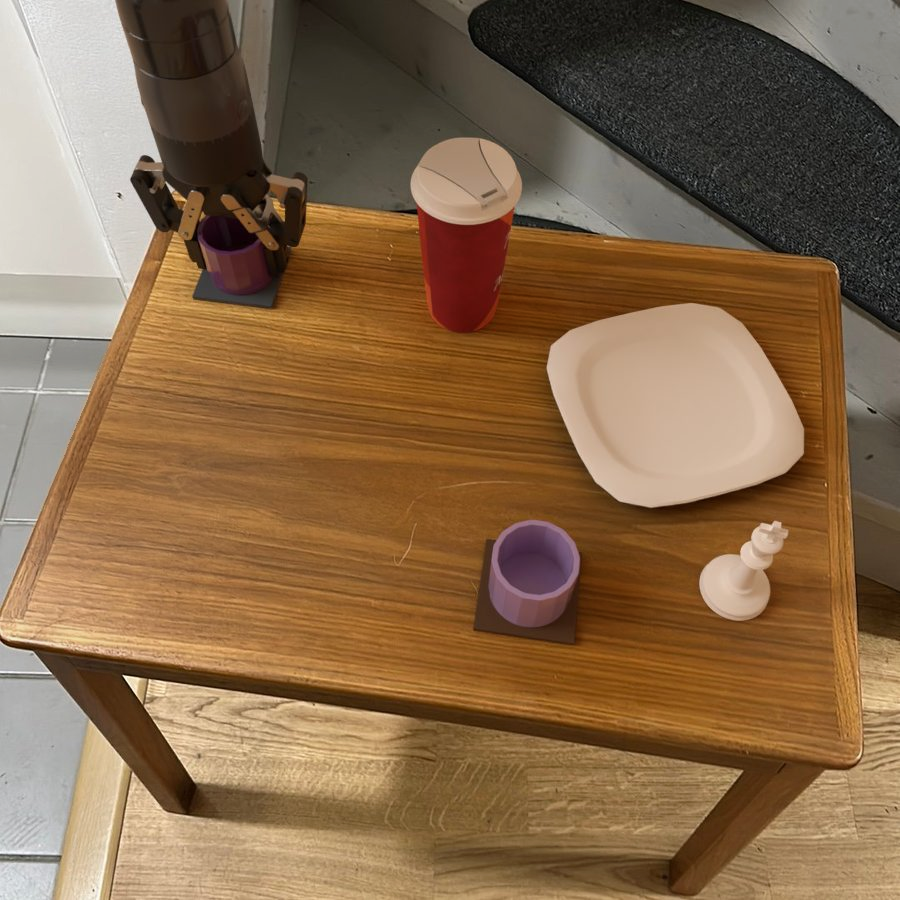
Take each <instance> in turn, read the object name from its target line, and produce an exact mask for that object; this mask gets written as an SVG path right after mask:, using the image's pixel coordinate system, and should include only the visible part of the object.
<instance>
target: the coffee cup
mask: <svg viewBox="0 0 900 900" xmlns="http://www.w3.org/2000/svg"><path fill="white" fill-rule="evenodd" d="M517 168H518V167H517V165H516V163H515V160H514V159H513V157H512V155H511V154H510V153H509V152H508V151H507V150H505V149H504V148H503V147H502V146H501V145H499V144H497V143H495V142H492V141H491V140H489V139H484V138H481V137H480V138H479V137H453V138H449V139H446V140H443V141H441V142H439V143H437V144H435V145H433V146H432V147H430V148H429V149H428V150H426V151H425V153H424V154H423V156H421V158H420V161H419V163H418V164H417V165H416V166H415V168H414V170H413V172H412V174H411V177H410V191H411V195H412V197H413V199H414V201H415V202H416V210H417V221H418V222H417V223H418V231H419V241H420V251H421V261H422V262H421V263H422V271H423V272H422V273H423V280H424V290H425V297H426V304H427V310H428V313H429V315H430V317H431V319H432V320H433V322H435V323H436V325H438V326H439V327H441V328H442V329H445V330H447V331H450V332H452V333H453V332H454V333H472V332H475V331H478V330H481V329H483V328H485V327H486V326H487V325H488V324H490V322H492V320H493V319H494V317H495V315H496V312H497V308H498V304H499V300H500V295H501V290H502V289H501V288H502V283H503V278H504V271H505V264H506V260H507V255H508V248H509V243H510V236H511V231H512V224H513V219H514V212H515V206H516V205H517V204H518V203H519V200H520V198H521V195H522V192H523V191H522V190H523V181H522V177H521V175H520V172H519V170H518V169H517Z"/></svg>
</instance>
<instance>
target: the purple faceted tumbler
mask: <svg viewBox="0 0 900 900" xmlns="http://www.w3.org/2000/svg"><path fill="white" fill-rule="evenodd" d="M197 236H198V241H199V244H200V248H201V251H202V254H203V257H204V261H205V264H206V267H207V270H208V273H209V276H210V278H211V281H212V283H213V284H214V285H215V286H216V287H217V288H218V289H219V290H221V291H223V292H225V293H228V294H232V295H248V294H252V293H255V292H258V291H260V290H262V289H263V288H265V287H266V286H267V285H268V284H269V283H270V282H271V281H272V280H273V277H270V273H269V269H268V264H267V260H266V256H265V251H264V248H265V245H264V244H263V243H262V241H261V240H260V239H259V238H258V236H257V235H256V234H255V233H252V234H251V233H249V232H248V230H247V229H246V228H245V227H244V225H243V224H242V223H241V222H240V220H239V219H233V218H229V217H226V216H207V215H204V216H203V217H202V219H201V218H200V223H199V226H198V228H197Z"/></svg>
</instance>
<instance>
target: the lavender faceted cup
mask: <svg viewBox="0 0 900 900" xmlns="http://www.w3.org/2000/svg"><path fill="white" fill-rule="evenodd" d="M496 540H497V541H496V542H495V544H494V546H493V553H492V560H491V569H490V577H489V595H490V599H491V601H492V604H493V606H494V607H495V609H496V610H497V611H498V613H499V614H500V615H501V616H502V617H504V618H505V619H506V620H508V621H509V622H511V623H513V624H516V625H519V626H523V627H541V626H544V625H547V624H550V623H552V622H553V621H555V620H556V619H558V618H559V617H560V616H561V615H562V614H563V612H564V611H565V609H566V608H567V606H568V603H569V601H570V599H571V596H572V593H573V590H574V587H575V583H576V580H577V577H578V574H579V565H580V556H579V553H578V552H579V550H578V548H577V544H576V542H575V540H573V539H572V538H571V535H569V534H568V533H567V532H566V530H565V529H563V528H561V527H559V526H558V525H555V524H553V523H552V522H551V521H547V520H546V521H544V520H537V519H528V520H523V521H518V522H515V523H513V524H512V525H511V526H509V527H507V528H506V529H504V530H503V531H502V532H501V533H500V534H499V536H498V538H497V539H496Z"/></svg>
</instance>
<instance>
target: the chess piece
mask: <svg viewBox="0 0 900 900" xmlns="http://www.w3.org/2000/svg"><path fill="white" fill-rule="evenodd" d="M788 536H789V529H787V528H783V527H782V522H781V521H777V520H774V521H773V522H772V524H768V523H764V522H761V523H760V524H759V526H757V527H755V528H754V530H753V531H752V533H751V538H750V539H751V540H749V541H747V542H745V543H744V544H743V545H742V546H741V548H740V553H739V554H736V553H735V554H734V553H728V554H727V553H726V554H722V555H719V556H716V557H715V558H713V559H711V560H710V561H709V562H708V563H707V564H706V565H705V566H704V567H703V569H702V571H701V572H700V576H699V583H698V585H699V586H698V587H699V591H700V594H701V597H702V599H703V601H704V602H705V604H706V605H707V606H708V607H709V609H710V610H712V611H713V612H714V613H715V614H716V615H718V616H720V617H722V618H724V619H727V620H730V621H738V622H742V621H748V620H752V619H755V618H756V617H758V616H759V615H761V613H763V612H764V611H765V610H766V608H767V605H768V603H769V600H770V597H771V584H770V581H769V578H768V576H767V574H766V572H765V571H764V570H766V569H768V568H770V567H771V565H772V564H773V561H774V555H775V554H777V553H779V552H780V551H782V549H783V547H784V540H786V539H787V538H788Z"/></svg>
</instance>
